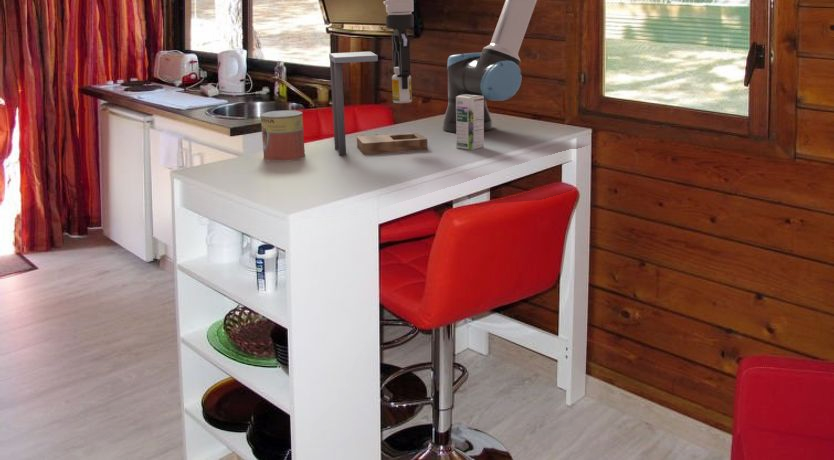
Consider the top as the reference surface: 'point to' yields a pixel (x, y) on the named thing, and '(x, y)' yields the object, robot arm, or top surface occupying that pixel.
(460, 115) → the syrup box
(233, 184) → the top surface
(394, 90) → the supplement bottle
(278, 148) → the canned food
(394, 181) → the top surface
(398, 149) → the socket block
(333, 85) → the grey l-shaped post
